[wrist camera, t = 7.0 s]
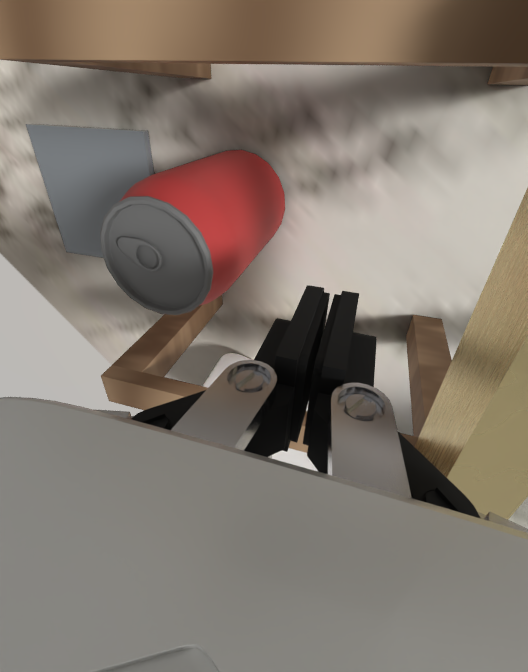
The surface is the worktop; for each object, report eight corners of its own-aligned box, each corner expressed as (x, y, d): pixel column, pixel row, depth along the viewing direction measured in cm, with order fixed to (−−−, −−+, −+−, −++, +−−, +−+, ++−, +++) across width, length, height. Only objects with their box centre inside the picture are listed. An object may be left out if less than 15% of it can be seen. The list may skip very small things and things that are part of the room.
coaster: (147, 130, 24) (143, 131, 24) (167, 264, 30) (163, 267, 29) (32, 123, 26) (25, 124, 26) (71, 249, 32) (66, 252, 31)
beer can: (215, 130, 23) (91, 152, 13) (303, 175, 23) (242, 230, 13) (192, 220, 27) (85, 286, 17) (266, 259, 27) (200, 346, 17)
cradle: (550, 32, 16) (831, -83, 6) (433, 341, 27) (461, 493, 16) (178, 36, 20) (-33, -27, 10) (201, 300, 31) (108, 401, 21)
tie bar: (797, -86, 6) (1158, -248, 3) (447, 495, 16) (459, 576, 13) (643, -76, 6) (838, -209, 4) (398, 482, 17) (400, 558, 14)
